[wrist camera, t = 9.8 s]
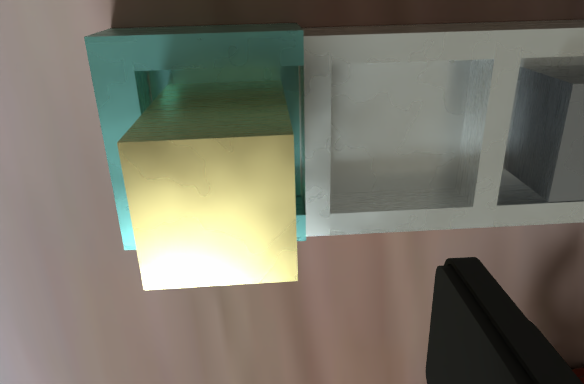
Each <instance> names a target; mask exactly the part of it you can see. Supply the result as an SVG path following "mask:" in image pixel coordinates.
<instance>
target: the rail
mask: <svg viewBox="0 0 584 384" xmlns="http://www.w3.org/2000/svg"><path fill="white" fill-rule="evenodd" d="M84 39H85V44H86V50H87V55H88V60H89V65H90V71H91V76H92V81H93V86H94V92H95V97H96V102H97V108H98V113H99V118H100V123H101V129H102V134H103V139H104V144H105V150H106V155H107V160H108V165H109V171H110V176H111V181H112V187H113V192H114V197H115V202H116V208H117V213H118V218H119V223H120V229H121V234H122V239H123V245H124V250H136V244H135V238H134V233H133V227H132V222H131V216H130V211H129V206H128V200H127V195H126V189H125V184H124V179H123V173H122V168H121V162H120V157H119V151H118V146H117V142H118V141H119V140H120V139H121V138H122V136H123V135H124V134H125V133H126V132H127V131H128V129H129V128H130V127H131V126H132V125H133V124H134V123H135V121H136V120H137V119H138V118H139V117H140V116H141V115H142V113H143V112H144V111H145V110H146V109H147V108H148V107H149V105H150V104H151V103H152V102H153V101H154V100H155V99H156V97H157V96H158V95H159V94H160V93H161V92H162V91H163V89H164V88H165V87H166V86H167V85H168V84H189V83H214V82H238V81H263V80H281V81H282V86H283V90H284V94H285V99H286V103H287V107H288V112H289V116H290V120H291V125H292V129H293V134H294V161H295V198H296V234H297V241H306V236H326V235H345V234H365V233H384V232H404V231H423V230H443V229H462V228H482V227H501V226H521V225H540V224H560V223H579V222H584V200H578V201H558V202H548V201H546V200H545V199H544V198H542V197H541V196H540V195H538V194H537V193H536V192H535V191H533V190H532V189H531V188H529V187H528V186H527V185H525V184H524V183H523V182H521V181H520V180H519V179H518V178H516V177H515V176H514V175H512V174H511V173H510V172H508V171H507V170H506V169H505V168H506V162H507V156H508V150H509V144H510V138H511V132H512V126H513V120H514V114H515V109H516V103H517V97H518V91H519V85H520V79H521V73H522V67H545V66H572V65H584V20H551V21H517V22H484V23H450V24H416V25H383V26H349V27H315V28H301V27H300V26H299V25H298V24H297V23H277V24H242V25H208V26H174V27H139V28H110V29H107V30H104V31H101V32H98V33H95V34H91V35H88V36H85V37H84Z"/></svg>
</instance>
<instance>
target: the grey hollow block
mask: <svg viewBox="0 0 584 384" xmlns="http://www.w3.org/2000/svg"><path fill="white" fill-rule="evenodd" d="M505 169H506V170H507V171H508V172H510V173H511V174H512V175H514V176H515V177H516V178H518V179H519V180H520V181H521V182H523V183H524V184H525V185H527V186H528V187H529V188H531V189H532V190H533V191H535V192H536V193H537V194H538V195H540V196H541V197H542V198H544V199H545V200H546V201H548V202H558V201H578V200H584V65H572V66H545V67H522V73H521V79H520V85H519V91H518V97H517V103H516V109H515V114H514V120H513V126H512V132H511V138H510V144H509V150H508V156H507V162H506V168H505Z"/></svg>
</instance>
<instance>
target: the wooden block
mask: <svg viewBox="0 0 584 384" xmlns="http://www.w3.org/2000/svg"><path fill="white" fill-rule="evenodd" d="M117 146H118V151H119V157H120V162H121V168H122V173H123V179H124V184H125V189H126V195H127V200H128V206H129V211H130V216H131V222H132V227H133V233H134V238H135V244H136V249H137V254H138V260H139V265H140V271H141V276H142V282H143V287H144V290H154V289H170V288H187V287H203V286H220V285H237V284H253V283H270V282H286V281H298V270H297V234H296V198H295V161H294V134H293V129H292V125H291V120H290V116H289V112H288V107H287V103H286V99H285V94H284V90H283V86H282V81H281V80H263V81H238V82H214V83H189V84H168V85H167V86H166V87H165V88H164V89H163V91H162V92H161V93H160V94H159V95H158V96H157V97H156V99H155V100H154V101H153V102H152V103H151V104H150V105H149V107H148V108H147V109H146V110H145V111H144V112H143V113H142V115H141V116H140V117H139V118H138V119H137V120H136V121H135V123H134V124H133V125H132V126H131V127H130V128H129V129H128V131H127V132H126V133H125V134H124V135H123V136H122V138H121V139H120V140H119V141H118V142H117Z"/></svg>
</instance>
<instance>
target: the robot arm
mask: <svg viewBox="0 0 584 384" xmlns="http://www.w3.org/2000/svg"><path fill="white" fill-rule="evenodd" d="M426 379H427V384H583V383H582V382H581V380H580V379H579V378H578V377H577V376H576V374H575V373H574V372H573V371H572V369H571V368H570V367H569V366H568V365H567V363H566V362H565V361H564V360H563V359H562V357H561V356H560V355H559V354H558V352H557V351H556V350H555V349H554V348H553V346H552V345H551V344H550V343H549V342H548V340H547V339H546V338H545V337H544V335H543V334H542V333H541V332H540V331H539V329H538V328H537V327H536V326H535V325H534V324H533V323H532V322H531V321H529V320H528V319H527V318H526V317H525V316H524V314H523V313H522V312H521V311H520V309H519V308H518V307H517V306H516V305H515V303H514V302H513V301H512V300H511V298H510V297H509V296H508V295H507V293H506V292H505V291H504V290H503V289H502V287H501V286H500V285H499V284H498V282H497V281H496V280H495V279H494V278H493V276H492V275H491V274H490V273H489V271H488V270H487V269H486V268H485V266H484V265H483V264H482V263H481V262H480V260H479V259H477V258H476V257H467V258H448V259H447V260H446V261H445V264H444V266H438V267H437V269H436V274H435V284H434V293H433V303H432V313H431V323H430V333H429V343H428V352H427V362H426Z"/></svg>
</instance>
